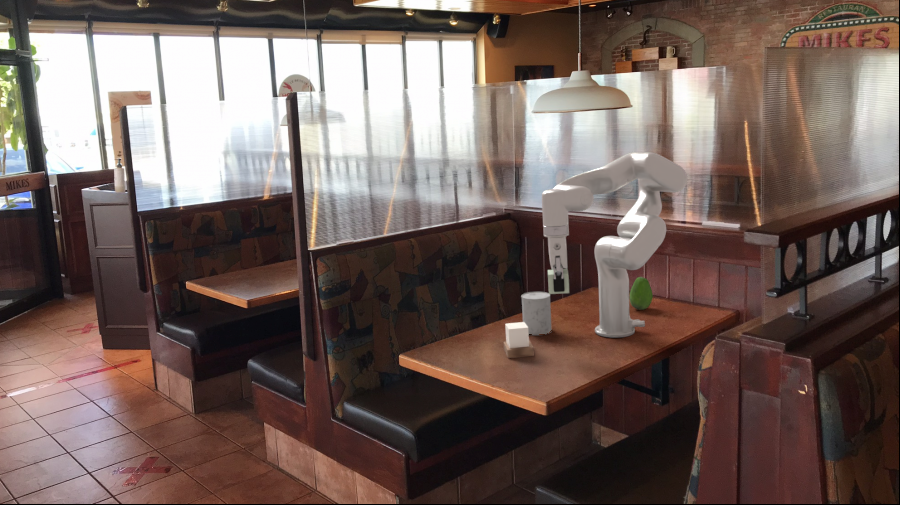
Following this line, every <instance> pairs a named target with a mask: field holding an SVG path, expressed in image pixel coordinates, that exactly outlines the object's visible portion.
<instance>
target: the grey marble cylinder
mask: <svg viewBox="0 0 900 505" xmlns="http://www.w3.org/2000/svg"><path fill="white" fill-rule="evenodd" d="M520 298H521V305H522V306H521V309H522V311H521V312H522V322H525V324H526V325H527V326H528V332H529V334H532V335H531V336H540V335H539V334H545V335H548V334H550V333H551V332H552V331H551V330H552V313H551V312H552V310H551V309H552V308H551V294H549V292H545V291H528V292H524V293H523V294H521V296H520ZM550 331H551V332H550ZM549 332H550V333H549ZM547 333H548V334H547Z"/></svg>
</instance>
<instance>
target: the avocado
mask: <svg viewBox="0 0 900 505" xmlns="http://www.w3.org/2000/svg"><path fill="white" fill-rule="evenodd" d="M632 284H633V285H632V286H631V289H630V290H629V304H630V305H631V306H632V307H633V308H634V309H636V310H639V311H643V310H646V309H648V308H649V307H650V306H651V304H652V301H653V297H654V296H653V290H652V288H651V285H650V281H649V280H648V279H647V278H645V277H644V276H639V277H637V278H636V279H635V280H634V282H633V283H632Z"/></svg>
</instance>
